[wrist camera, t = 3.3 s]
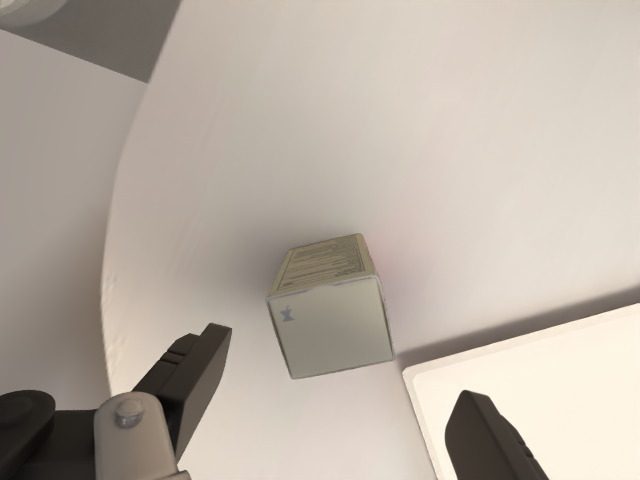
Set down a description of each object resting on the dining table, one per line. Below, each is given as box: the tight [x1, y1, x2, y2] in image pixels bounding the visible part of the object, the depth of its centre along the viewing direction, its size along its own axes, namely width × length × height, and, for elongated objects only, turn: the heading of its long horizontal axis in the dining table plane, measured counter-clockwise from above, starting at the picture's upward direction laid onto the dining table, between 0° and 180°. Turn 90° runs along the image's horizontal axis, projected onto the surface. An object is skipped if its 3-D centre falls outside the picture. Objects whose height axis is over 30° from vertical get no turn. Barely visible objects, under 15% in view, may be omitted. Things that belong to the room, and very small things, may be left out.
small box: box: [266, 234, 395, 379], centre depth 19 cm, size 5×4×8 cm
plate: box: [402, 303, 640, 480], centre depth 24 cm, size 26×26×2 cm
